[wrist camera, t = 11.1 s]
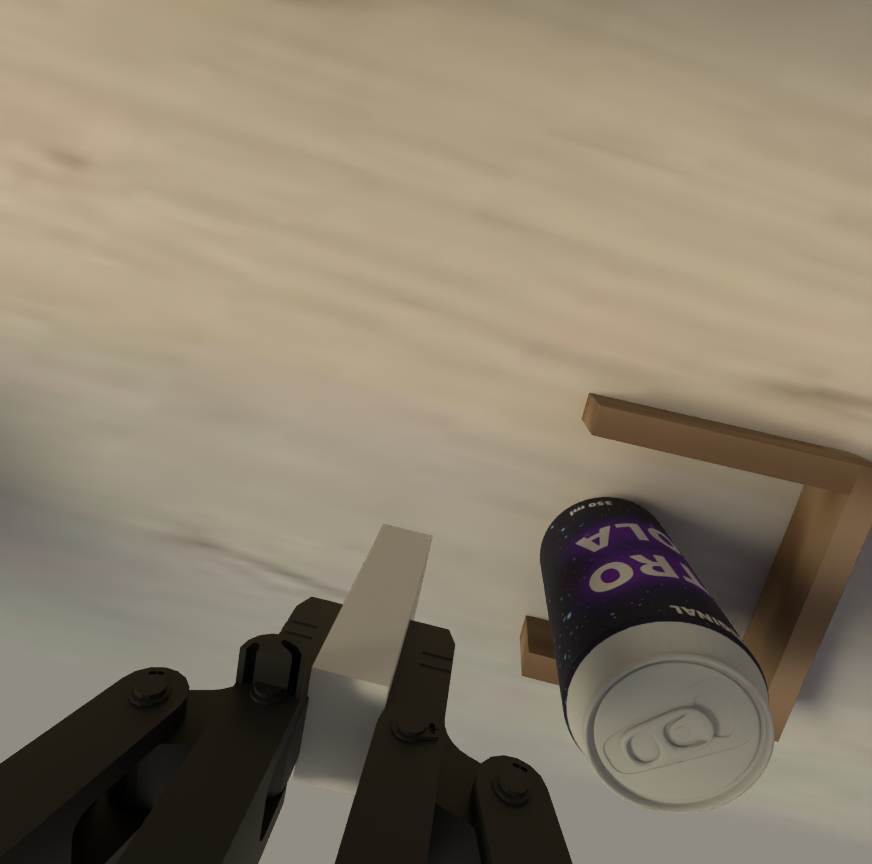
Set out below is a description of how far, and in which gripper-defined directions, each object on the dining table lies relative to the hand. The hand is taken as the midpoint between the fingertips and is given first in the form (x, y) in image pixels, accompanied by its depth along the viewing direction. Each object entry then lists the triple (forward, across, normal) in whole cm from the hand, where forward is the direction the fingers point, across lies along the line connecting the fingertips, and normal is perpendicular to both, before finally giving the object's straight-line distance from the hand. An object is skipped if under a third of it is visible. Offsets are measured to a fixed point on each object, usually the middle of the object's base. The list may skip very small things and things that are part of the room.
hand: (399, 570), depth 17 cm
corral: (+10, +11, -1) cm, 15 cm away
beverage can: (+10, +8, -2) cm, 13 cm away
